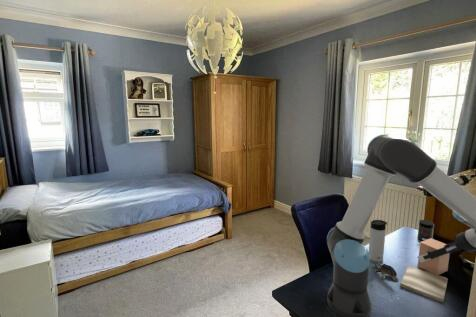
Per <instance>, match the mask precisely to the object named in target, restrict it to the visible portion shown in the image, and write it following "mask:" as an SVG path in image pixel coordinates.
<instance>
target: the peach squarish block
mask: <svg viewBox="0 0 476 317" xmlns="http://www.w3.org/2000/svg"><path fill="white" fill-rule="evenodd" d="M447 244H448V243H447ZM447 244H446V243H444V242H442V241H439V240H436V239H434V238H430V239H427V240H425V241H420V242H419V250H418V251H419V252H418V256H420V255H423V254H426V253H428V252H427V251H429V252H432V251H435V250H438V249H440V248H443V247H444V246H445V245H447ZM450 254H451V253H447V254H444V255H442V256H439V257H436V258H434V259H430V260H427V261H425V262H422V263H421V262H420V261H419V259H418V258H417V260H418V261H417V267H418V268H419V269H421V270H424V271H427V272H430V273H433V274H436V275H439V276H441V275H442V274H444V273H445V272H448V271H449V270H448V269H449V260H450Z"/></svg>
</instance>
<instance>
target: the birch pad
mask: <svg viewBox="0 0 476 317" xmlns="http://www.w3.org/2000/svg"><path fill="white" fill-rule="evenodd" d="M448 278H449V277H448ZM448 278H447V277H446V276H442V275H436V274H433V273H430V272H428V271H426V270H424V269H422V268H417V267H414V266H411V265H408V266H407V268H406V270H405V272H404V275H403V277H402V280H400V284H399V285H400V287H401V288H403V289H407V291H408V290H410V291H411V292H414V293H417V294H418V295H423V296H424V297H427V298H430V299H432V300H436V301H438V302H440V303H444V300H445V296H446V290H447V285H448V280H449V279H448Z"/></svg>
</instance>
